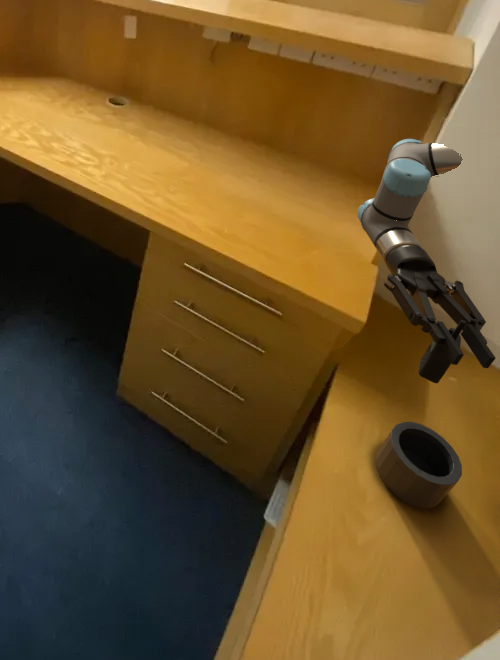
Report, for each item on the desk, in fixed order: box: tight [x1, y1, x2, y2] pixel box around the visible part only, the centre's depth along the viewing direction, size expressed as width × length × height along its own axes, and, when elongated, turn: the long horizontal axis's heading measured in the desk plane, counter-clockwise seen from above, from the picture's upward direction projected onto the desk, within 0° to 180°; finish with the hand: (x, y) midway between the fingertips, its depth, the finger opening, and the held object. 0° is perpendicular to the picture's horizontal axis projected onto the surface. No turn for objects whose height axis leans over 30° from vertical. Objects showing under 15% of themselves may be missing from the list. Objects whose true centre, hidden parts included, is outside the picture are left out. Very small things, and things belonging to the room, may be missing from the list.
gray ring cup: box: [375, 421, 463, 509], centre depth 87 cm, size 10×10×8 cm
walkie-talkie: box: [418, 320, 466, 384], centre depth 89 cm, size 5×3×15 cm
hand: (473, 361), depth 82 cm, fingers closed on walkie-talkie, 4 cm apart
